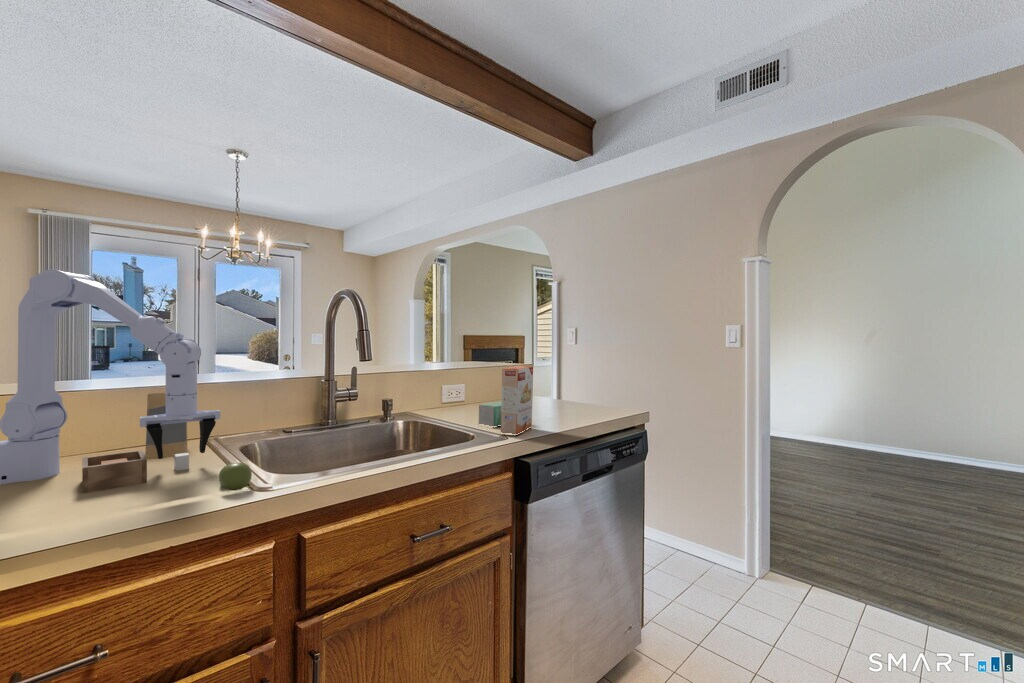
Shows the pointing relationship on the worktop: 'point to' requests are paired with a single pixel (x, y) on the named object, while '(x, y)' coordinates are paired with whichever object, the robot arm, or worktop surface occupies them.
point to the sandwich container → (165, 430)
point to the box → (490, 414)
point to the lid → (181, 461)
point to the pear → (235, 476)
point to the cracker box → (516, 399)
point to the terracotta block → (113, 461)
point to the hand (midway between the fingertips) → (181, 455)
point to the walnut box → (113, 471)
